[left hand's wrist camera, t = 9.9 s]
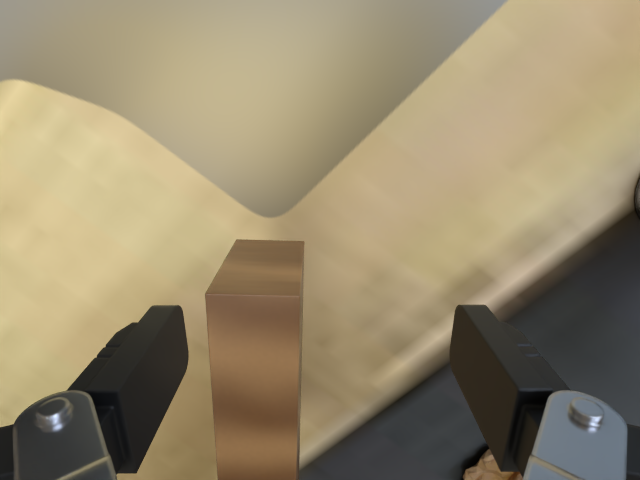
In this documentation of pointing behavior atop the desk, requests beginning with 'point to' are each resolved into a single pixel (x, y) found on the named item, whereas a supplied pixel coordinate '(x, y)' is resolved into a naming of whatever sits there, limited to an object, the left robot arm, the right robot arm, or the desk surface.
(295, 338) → the bar
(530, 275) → the desk surface
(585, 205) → the desk surface
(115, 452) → the left robot arm
